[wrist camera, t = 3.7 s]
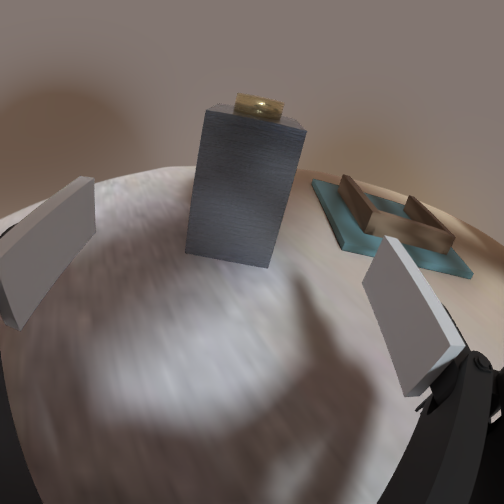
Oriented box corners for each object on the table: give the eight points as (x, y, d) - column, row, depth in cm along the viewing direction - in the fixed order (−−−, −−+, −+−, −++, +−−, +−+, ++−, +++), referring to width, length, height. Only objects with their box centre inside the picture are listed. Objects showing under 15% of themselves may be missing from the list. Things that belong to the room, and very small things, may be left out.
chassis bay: (412, 212, 43) (420, 194, 42) (470, 279, 28) (483, 256, 26) (311, 183, 42) (317, 162, 40) (341, 250, 26) (354, 218, 25)
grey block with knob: (266, 229, 27) (298, 105, 21) (267, 268, 22) (311, 112, 16) (199, 216, 26) (221, 88, 20) (184, 253, 21) (209, 90, 15)
